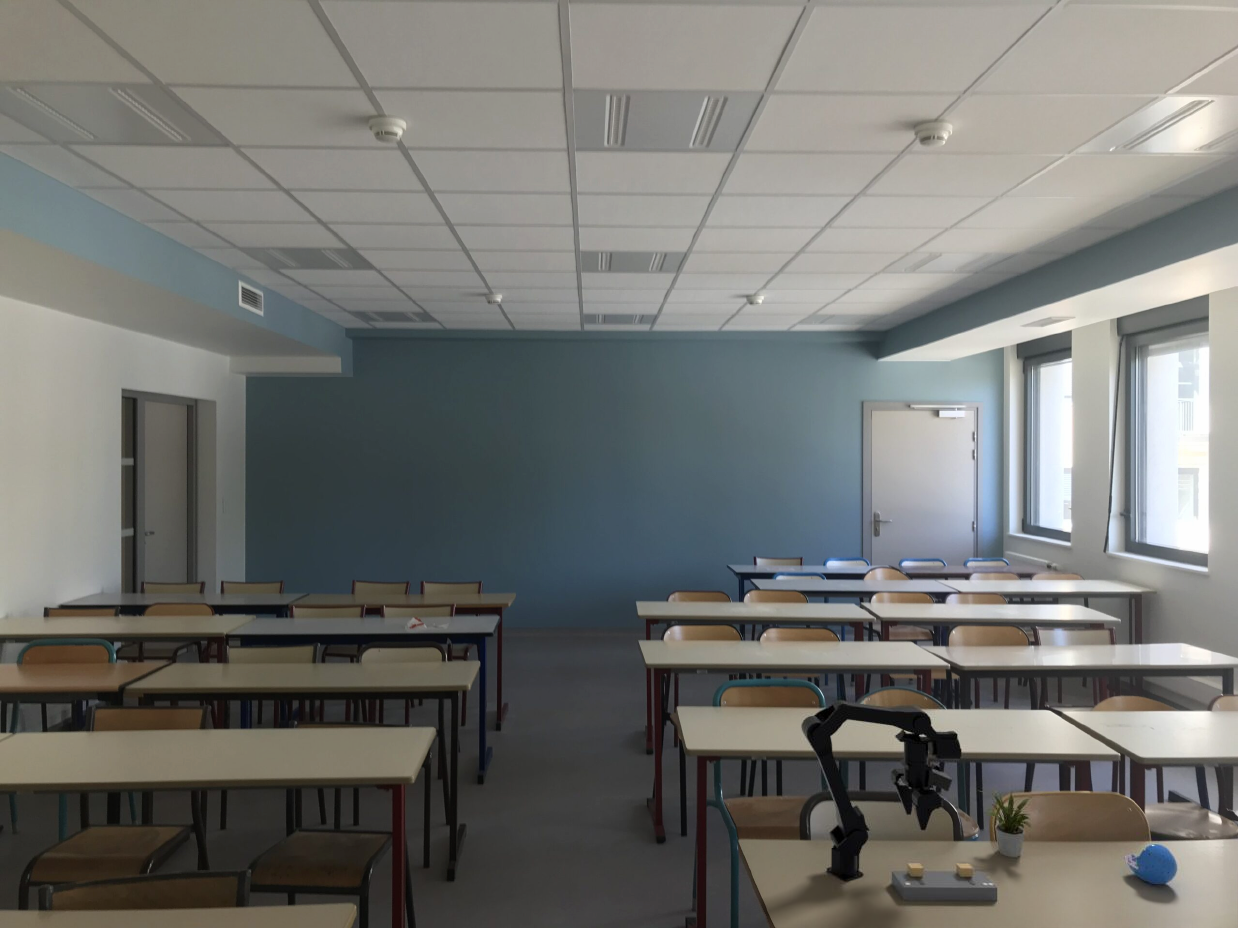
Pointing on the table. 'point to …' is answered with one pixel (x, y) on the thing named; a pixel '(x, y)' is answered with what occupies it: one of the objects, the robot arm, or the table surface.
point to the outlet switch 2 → (964, 870)
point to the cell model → (1153, 864)
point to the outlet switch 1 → (915, 869)
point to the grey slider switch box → (944, 886)
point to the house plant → (1009, 826)
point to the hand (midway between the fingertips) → (915, 821)
